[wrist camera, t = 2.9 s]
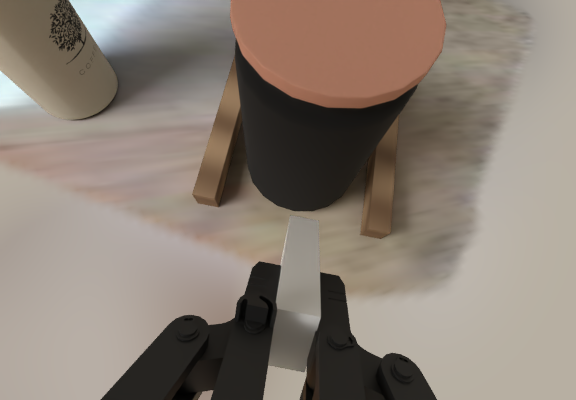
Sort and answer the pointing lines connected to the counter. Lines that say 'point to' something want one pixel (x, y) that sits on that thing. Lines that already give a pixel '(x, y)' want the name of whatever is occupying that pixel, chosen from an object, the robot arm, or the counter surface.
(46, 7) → the travel mug
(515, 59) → the counter surface
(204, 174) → the bay
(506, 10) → the counter surface
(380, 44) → the coffee jar
